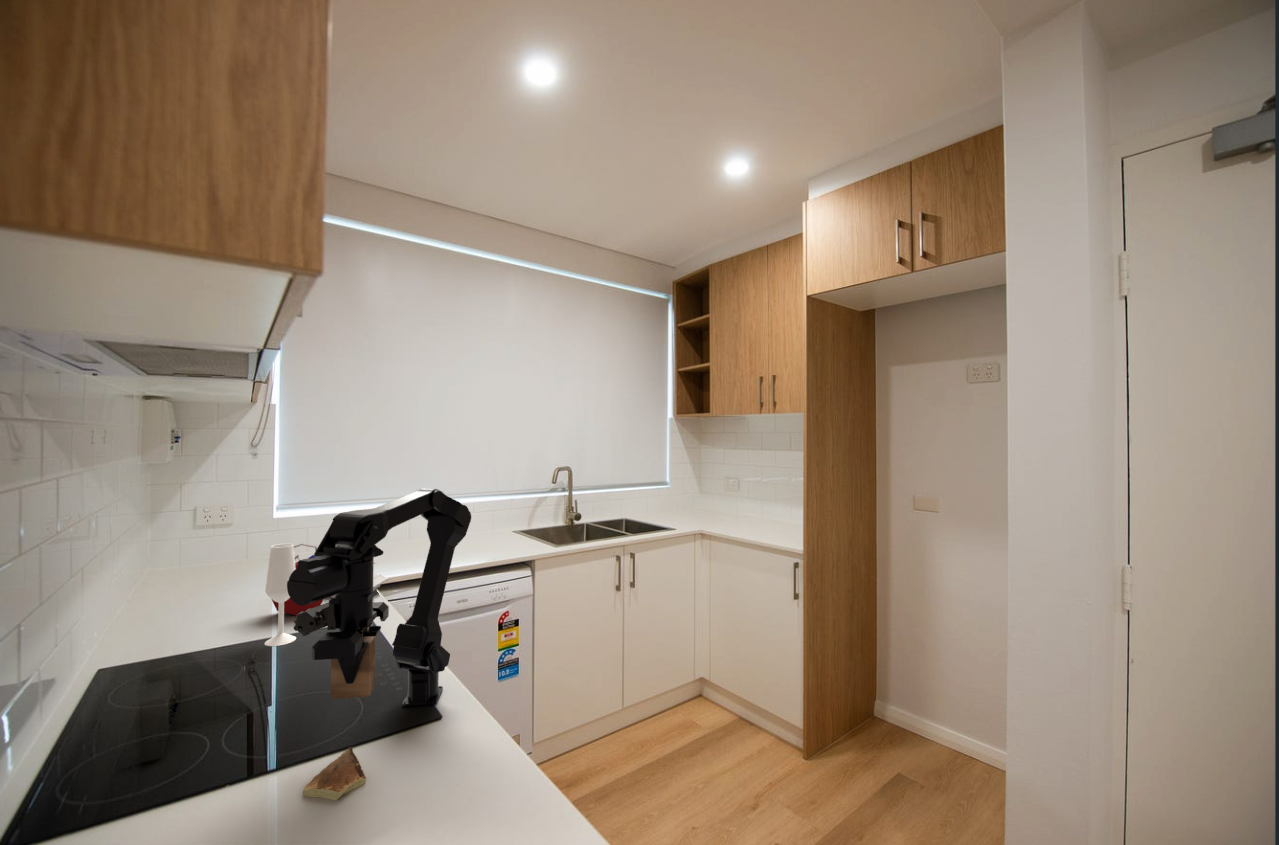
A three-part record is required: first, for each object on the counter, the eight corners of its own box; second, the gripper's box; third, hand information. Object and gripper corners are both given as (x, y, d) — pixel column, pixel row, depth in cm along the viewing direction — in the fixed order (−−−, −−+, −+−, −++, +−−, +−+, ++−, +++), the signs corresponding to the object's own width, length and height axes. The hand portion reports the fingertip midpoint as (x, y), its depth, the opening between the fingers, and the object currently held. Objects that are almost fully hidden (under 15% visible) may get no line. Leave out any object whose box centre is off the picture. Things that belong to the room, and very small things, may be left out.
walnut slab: (338, 689, 93) (338, 637, 93) (375, 687, 94) (375, 635, 94) (330, 699, 90) (331, 645, 90) (369, 696, 91) (369, 643, 91)
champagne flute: (302, 635, 139) (303, 542, 139) (285, 646, 132) (286, 548, 133) (276, 635, 139) (277, 542, 139) (258, 646, 132) (259, 548, 133)
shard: (350, 754, 90) (350, 744, 90) (392, 759, 89) (392, 748, 89) (299, 799, 79) (300, 786, 79) (346, 805, 78) (346, 792, 78)
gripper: (326, 573, 100) (325, 657, 99) (275, 607, 81) (274, 711, 81) (390, 571, 101) (389, 654, 101) (354, 604, 83) (353, 705, 83)
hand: (353, 678), depth 92 cm, fingers closed on walnut slab, 3 cm apart
